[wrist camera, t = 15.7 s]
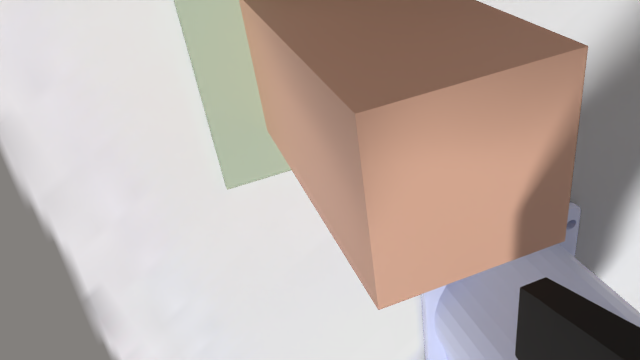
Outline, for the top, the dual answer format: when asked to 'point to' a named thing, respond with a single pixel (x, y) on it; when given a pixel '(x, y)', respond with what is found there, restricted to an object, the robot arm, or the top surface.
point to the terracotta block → (421, 131)
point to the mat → (229, 90)
